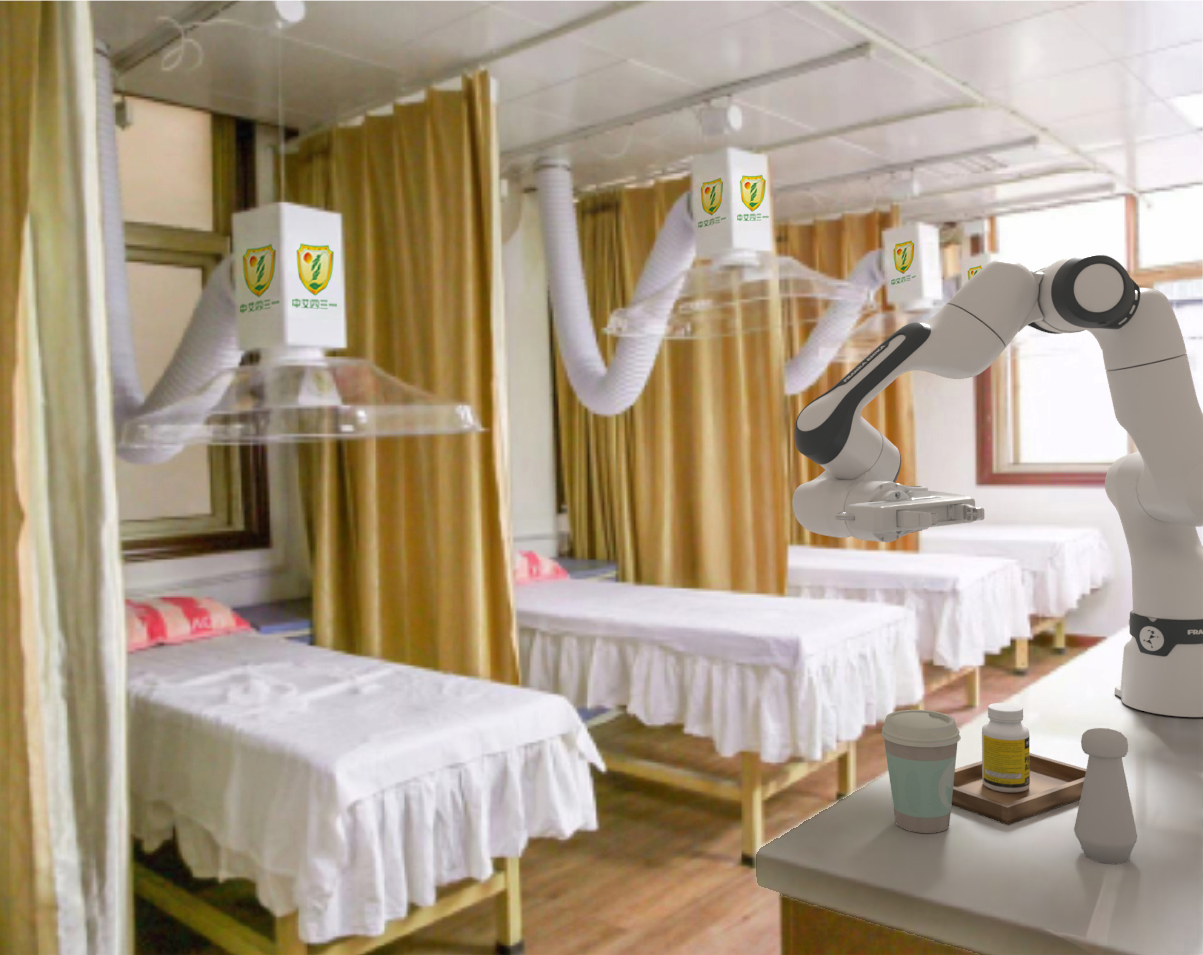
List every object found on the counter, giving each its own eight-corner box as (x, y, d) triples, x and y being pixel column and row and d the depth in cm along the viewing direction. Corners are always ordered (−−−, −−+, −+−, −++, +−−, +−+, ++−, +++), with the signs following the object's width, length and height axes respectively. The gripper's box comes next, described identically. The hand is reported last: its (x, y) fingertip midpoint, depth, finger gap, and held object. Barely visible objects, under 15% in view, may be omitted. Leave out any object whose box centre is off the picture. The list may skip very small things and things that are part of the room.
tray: (1018, 764, 137) (1018, 749, 136) (1104, 790, 126) (1104, 774, 126) (923, 794, 127) (923, 778, 127) (1008, 825, 117) (1007, 807, 117)
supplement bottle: (1034, 795, 124) (1033, 713, 124) (986, 793, 125) (984, 712, 125) (1025, 779, 130) (1024, 701, 129) (979, 778, 131) (977, 700, 130)
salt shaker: (1111, 872, 104) (1109, 743, 104) (1062, 852, 109) (1060, 729, 109) (1149, 859, 107) (1148, 733, 106) (1100, 840, 112) (1098, 720, 111)
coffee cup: (951, 844, 112) (949, 733, 112) (873, 830, 117) (870, 724, 116) (970, 817, 120) (968, 713, 119) (895, 805, 124) (893, 705, 124)
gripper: (827, 494, 147) (903, 498, 136) (927, 485, 158) (1006, 488, 146) (828, 539, 148) (904, 547, 136) (928, 527, 158) (1006, 533, 147)
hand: (957, 516), depth 141 cm, fingers open, 8 cm apart
